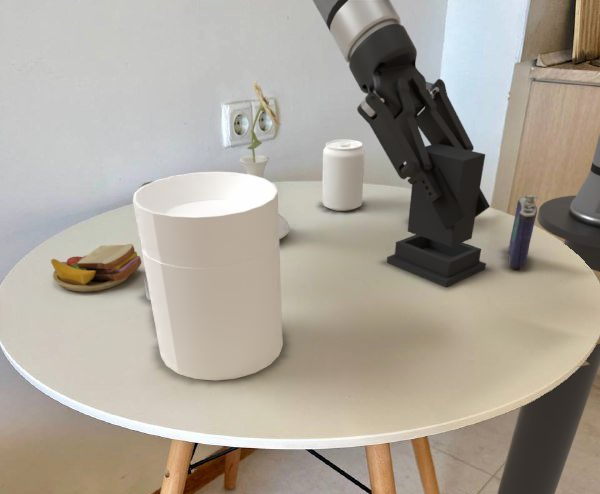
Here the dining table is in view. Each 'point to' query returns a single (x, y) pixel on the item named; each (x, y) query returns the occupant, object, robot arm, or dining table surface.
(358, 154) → the beverage can
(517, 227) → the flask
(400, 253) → the rectangular socket base
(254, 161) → the flower in vase
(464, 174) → the upright block
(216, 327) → the canister
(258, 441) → the dining table surface
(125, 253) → the toy sandwich meal
